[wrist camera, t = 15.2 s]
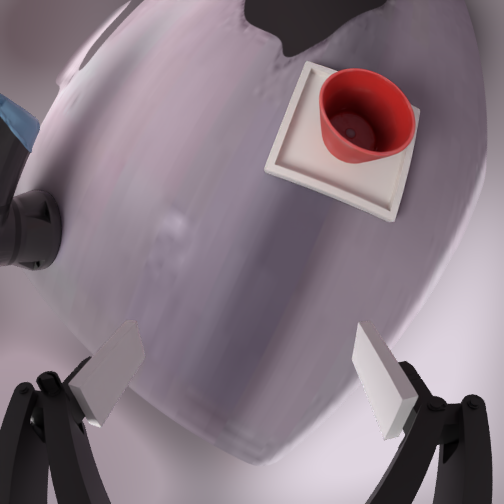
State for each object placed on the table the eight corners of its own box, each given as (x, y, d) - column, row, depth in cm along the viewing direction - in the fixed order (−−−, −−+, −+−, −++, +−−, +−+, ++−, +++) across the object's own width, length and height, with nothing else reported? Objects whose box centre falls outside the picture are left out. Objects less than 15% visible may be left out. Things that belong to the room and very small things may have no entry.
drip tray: (265, 172, 35) (264, 168, 32) (305, 68, 33) (306, 60, 30) (388, 222, 33) (394, 221, 31) (414, 114, 31) (420, 109, 29)
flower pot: (340, 89, 32) (355, 52, 22) (398, 140, 31) (430, 116, 22) (293, 135, 33) (297, 104, 23) (356, 191, 33) (383, 178, 23)
